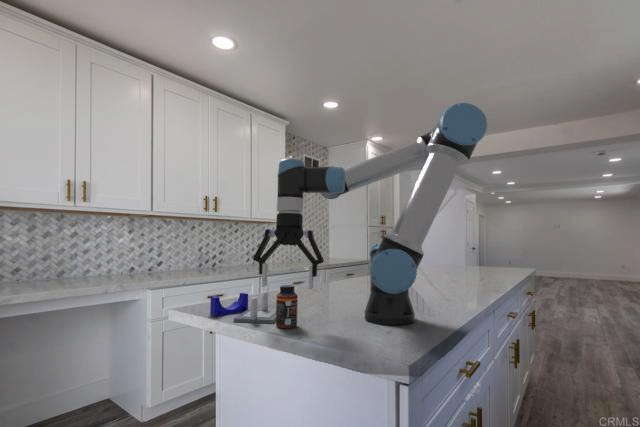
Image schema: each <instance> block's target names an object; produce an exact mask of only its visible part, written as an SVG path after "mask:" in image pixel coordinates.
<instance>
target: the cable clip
mask: <svg viewBox="0 0 640 427" xmlns="http://www.w3.org/2000/svg"><path fill="white" fill-rule="evenodd" d="M247 310H249V293H247V292H240V293H239V297H238V299H237V300H236V301H234V302H232V304H230V305H229V306H226V307H224V306H223V304H221V300H220V297H219V296H216V295H214V296H213V295H212V296H210V312H209V313H210V314H209V315H210V316H211V315H212V317H215V316H216V317H221V316H227V315H234V314H238V313H239V314H242V313H243V312H245V311H247Z"/></svg>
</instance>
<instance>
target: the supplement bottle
mask: <svg viewBox="0 0 640 427" xmlns="http://www.w3.org/2000/svg"><path fill="white" fill-rule="evenodd" d="M279 291H280V292H279V293H278V294H277V295H276V307H275V308H276V309H275V311H276V321H275V326H276V328H279V329H293V328H295V327H297V325H298V294H297V293H296V292H295V285H291V284H285V285H284V284H283V285H280V287H279Z"/></svg>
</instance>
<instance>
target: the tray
mask: <svg viewBox="0 0 640 427" xmlns="http://www.w3.org/2000/svg"><path fill="white" fill-rule="evenodd" d="M258 301H259V300H258V297H250V309H248V310H247V311H245V312H241V313H239V315H237V316H235V317H234V318H233V323H254V324H255V323H256V324H274V323H276V310H269V291H262V292H261V309H260V310H259V309H258V304H259V303H258Z"/></svg>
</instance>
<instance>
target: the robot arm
mask: <svg viewBox="0 0 640 427" xmlns="http://www.w3.org/2000/svg"><path fill="white" fill-rule="evenodd" d="M439 117H440V118H439V120H438V121H437V123H436V125H435V127H434V128H433V129H432V130H430V131H429V132H427V133H425V134H423V135H420V136H418V137H417V138H416V141H414V142H411V143H408V144H406V145H404V146H401V147H397V148H395V149H392V150H390V151H388V152H384V153H382V154H379V155H376V156H374V157H372V158H369V159H366V160H363V161H360V162H359V163H356V164H353V165H350V166H348V167H345V168H344V167H341V166H332V165H331V166H305V162H304V161H303V160H302V159H299V158H284V159H281V160H280V161H279V163H278V172H277V197H276V198H277V199H276V200H277V201H276V202H277V203H276V212H278V213H277V214H276V223H275V224H276V225H275V226H276V227H275V230H272V229H271V228H267V229H265V230H264V237H263V239H262V240H261V242H260V244H259V246H258V248H257V250H256V252H255V254H254V255H253V257H252V260H253V261H254V262H257V263H258V264H259V266H258V274H259V275H261V287H263V288H265V287H267V286H268V266H269V263H268V262H266V261H267V260H268V259H269V258H270V257H271V256H272V255H273V253H274V252H275V251H276V250H277V249H278V248H279V246H281V245H282V246H297V247H298V248H299V249H300V250H301V251H302V253H303V255H304V256H305V257H306V258H307V259H308V261H309V262H310V263H311V264H309V268H308V270H309V274H308V276H309V277H308V289H309V290H312V289H313V288H314V277H317V276H318V265H319V264H322V263H324V257H323V255H322V252H321V251H320V249H319V247H318V245H317V242H316V240H315V237H314V231H313V230H312V229H309V230H303V223H304V222H303V218H304V215H303V214H302V213H303V211H304V194H305V193H306V194H320V195H321V196H322V197H323V198H326V199H327V200H334V199H337V198H339V197H340V196H342V195H344V194H347V193H349V192H352V191H354V190H357V189H359V188H363V187H366V186H369V185H371V184H375V183H376V182H379V181H382V180H384V179H387V178H390V177H393V176H396V175H398V174H402V173H405V172H407V171H409V170H412V169H415V168H417V167H421V166H423V167H422V168H421V171H420V173H419V176H418V177H417V180H416V182H415V184H414V186H413V187H412V190H411V192H410V194H409V196H408V198H407V200H406V203H405V204H404V207H403V209H402V211H401V212H400V215H399V217H398V219H397V221H396V224H395V226H394V228H393V230H392V232H390V233H388V234H385V235H383V238H382V239H381V242H380V243H374V244H372V245H371V246H370V252H369V256H370V257H369V258H370V260H369V261H370V262H369V263H370V264H369V276H370V294H369V297H368V301H367V303H366V306H365V309H364V319H365V320H366V321H367V322H371V323H374V324H379V325H386V326H387V325H388V326H403V325H410V324H413V323H415V322H416V316H415V315H416V314H415V310H414V307H413V303H412V300H411V298H410V294H409V291H410V290H409V289H410V288H411V287H412V286H413V284H414V283H415V281H416V279H417V275H418V273H417V272H418V268H419V266H420V263H421V262H422V260H423V257H424V255H425V253H424V250H423V248H422V247H423V243H424V242H425V240H426V237H427V235H428V234H429V231H430V229H431V227H432V225H433V222H434V221H435V219H436V217H437V215H438V212H439V210H440V209H441V207H442V204H443V202H444V199H445V197H446V195H447V194H448V192H449V189H450V187H451V185H452V183H453V181H454V179H455V176H456V175H457V174H458V173H457V172H458V170H459V168H460V167H461V166H465V165H467V164H468V163H469V161H470V159H471V157H472V155H473V153H474V151H475V148H476V147H477V145H478V143H479V142H480V141H481V140H482V139H483V138H484V137H485V134H486V131H487V130H488V121H487V120H488V119H487V117H486V115H485V113H484V112H483V110H482V109H481V108H480V107H478V106H477V105H475V104H473V103H469V102H459V103H456V104H453V105H450V106H449V107H448V108H446V110H444V111H443V112H442V113H441V116H439ZM273 236H275V237H276V240H275V241H274V242H273V244H272V245H271V246H270V247H269V248H268V250H266V248H267V245H268V243H269V242H270V240H271V238H272V237H273ZM304 236H305V238H306V239H308V241H309V244H310V245H311V249H312V250H313V252H314V255H315V256H313V254H312V253H311V252H310V250H309V249H308V247H307V246H306V245H305V244H304V242H303V240H302V238H303V237H304ZM265 250H266V252H265V253H264V251H265ZM263 253H264V254H263ZM315 257H316V258H315Z"/></svg>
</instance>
